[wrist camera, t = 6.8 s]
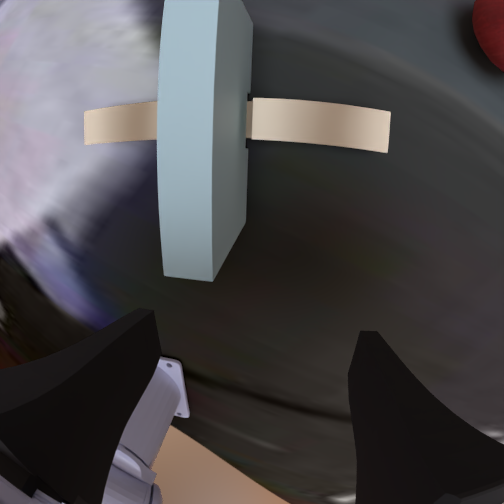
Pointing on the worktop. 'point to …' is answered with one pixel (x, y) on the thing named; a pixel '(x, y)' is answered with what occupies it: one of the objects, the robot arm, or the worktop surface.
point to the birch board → (257, 123)
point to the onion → (490, 29)
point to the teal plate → (202, 133)
